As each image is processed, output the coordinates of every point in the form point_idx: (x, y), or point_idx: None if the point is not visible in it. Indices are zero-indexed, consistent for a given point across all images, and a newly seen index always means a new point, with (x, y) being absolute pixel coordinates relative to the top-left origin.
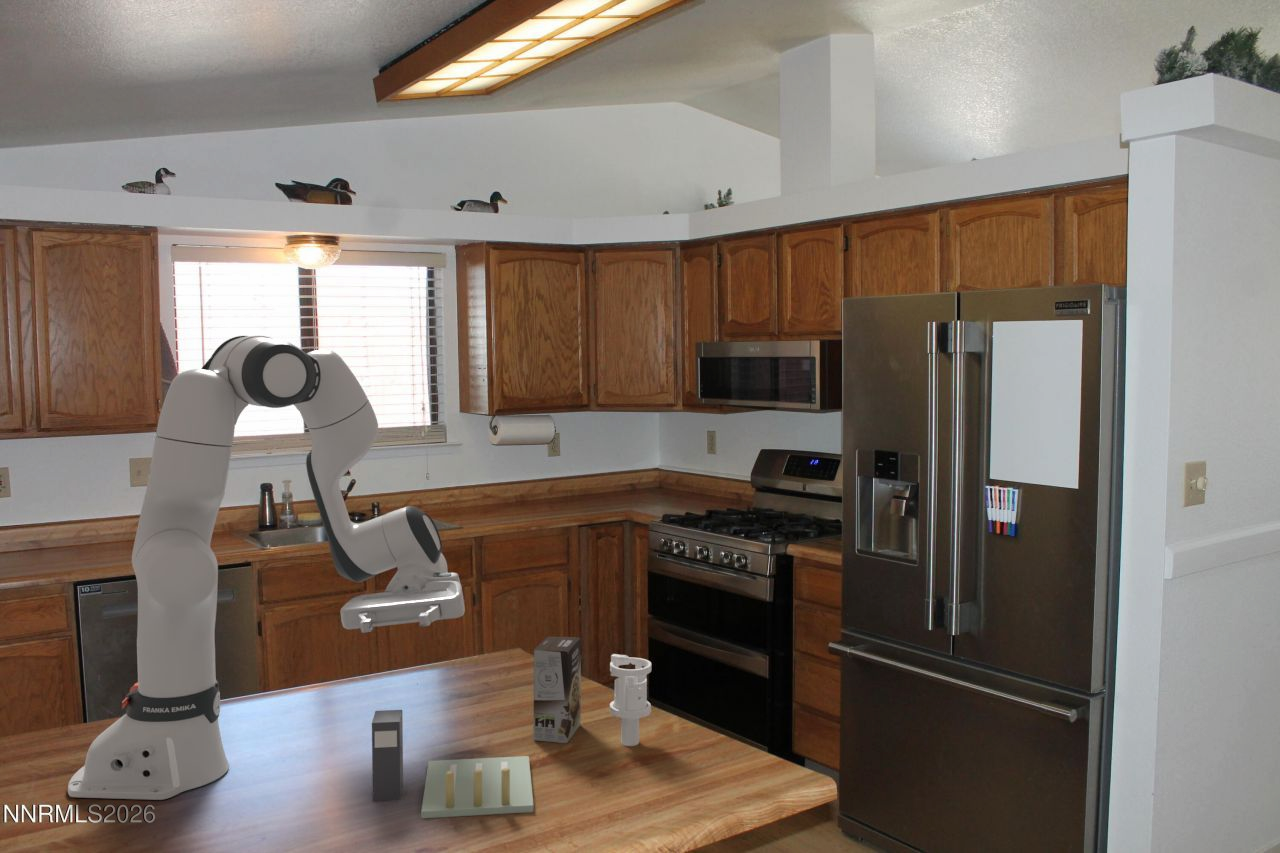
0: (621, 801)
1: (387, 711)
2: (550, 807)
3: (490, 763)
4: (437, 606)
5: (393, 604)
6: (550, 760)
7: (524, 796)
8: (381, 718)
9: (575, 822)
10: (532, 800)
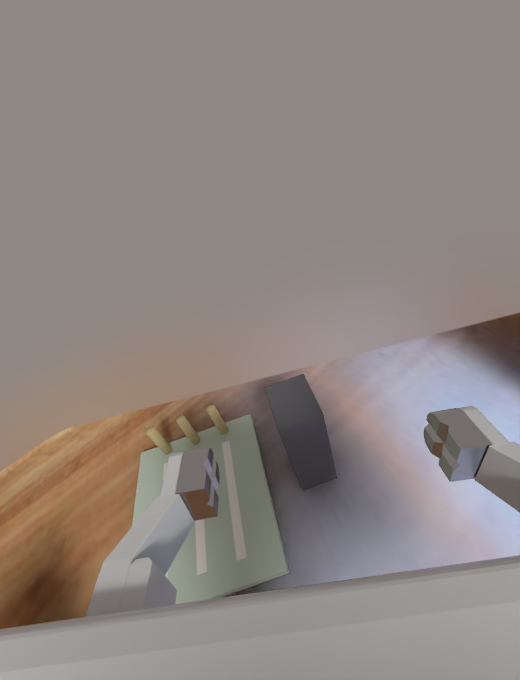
0: (51, 501)
1: (300, 417)
2: (126, 470)
3: (184, 577)
4: (103, 568)
5: (421, 582)
6: None
7: (147, 470)
8: (296, 389)
9: (111, 445)
10: (140, 463)
